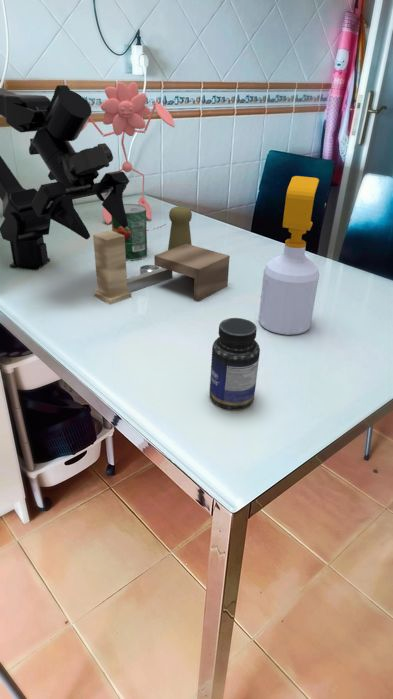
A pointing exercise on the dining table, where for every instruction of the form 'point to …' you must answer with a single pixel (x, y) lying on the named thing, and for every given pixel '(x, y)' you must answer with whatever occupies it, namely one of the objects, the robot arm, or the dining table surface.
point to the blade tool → (119, 269)
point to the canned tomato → (133, 231)
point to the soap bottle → (291, 267)
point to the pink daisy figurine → (128, 122)
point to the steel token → (147, 268)
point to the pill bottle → (234, 364)
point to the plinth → (197, 267)
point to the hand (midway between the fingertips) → (108, 232)
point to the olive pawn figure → (179, 227)
